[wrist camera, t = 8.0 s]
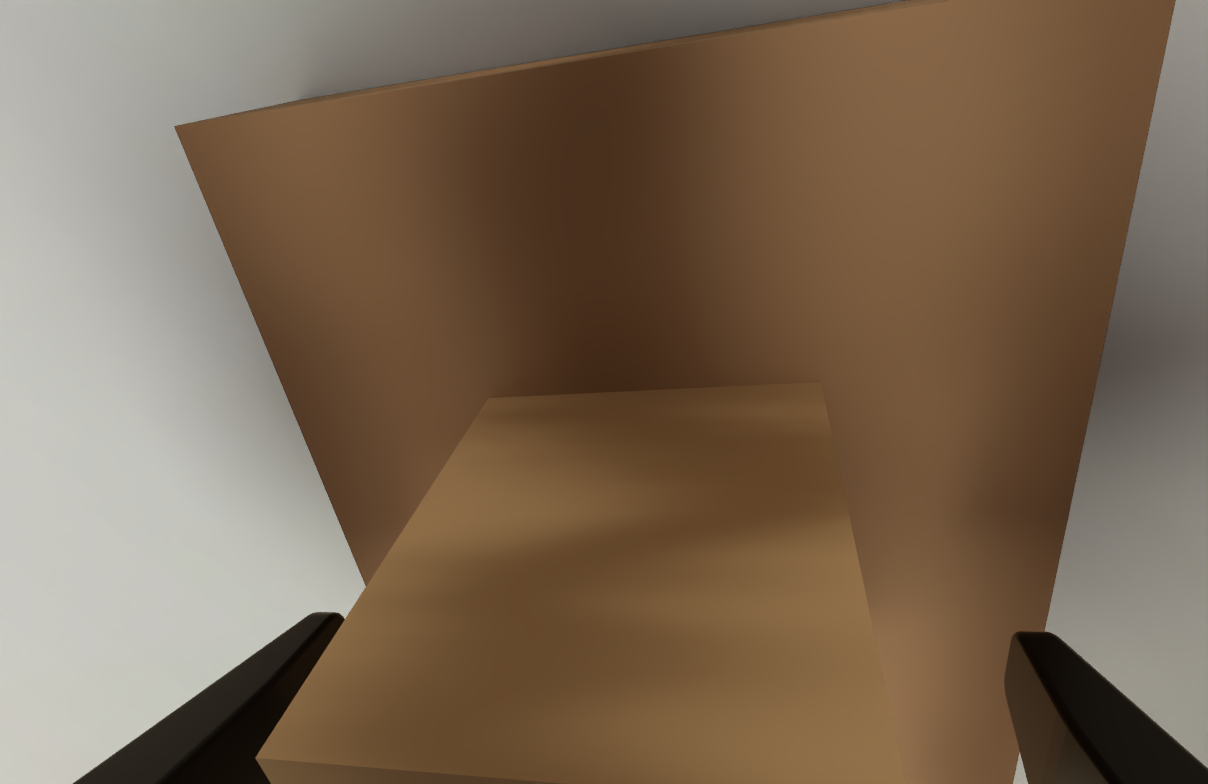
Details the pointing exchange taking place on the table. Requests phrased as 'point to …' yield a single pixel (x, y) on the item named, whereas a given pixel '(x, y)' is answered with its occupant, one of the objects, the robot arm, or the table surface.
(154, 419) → the table surface
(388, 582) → the oak block
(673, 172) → the walnut board
